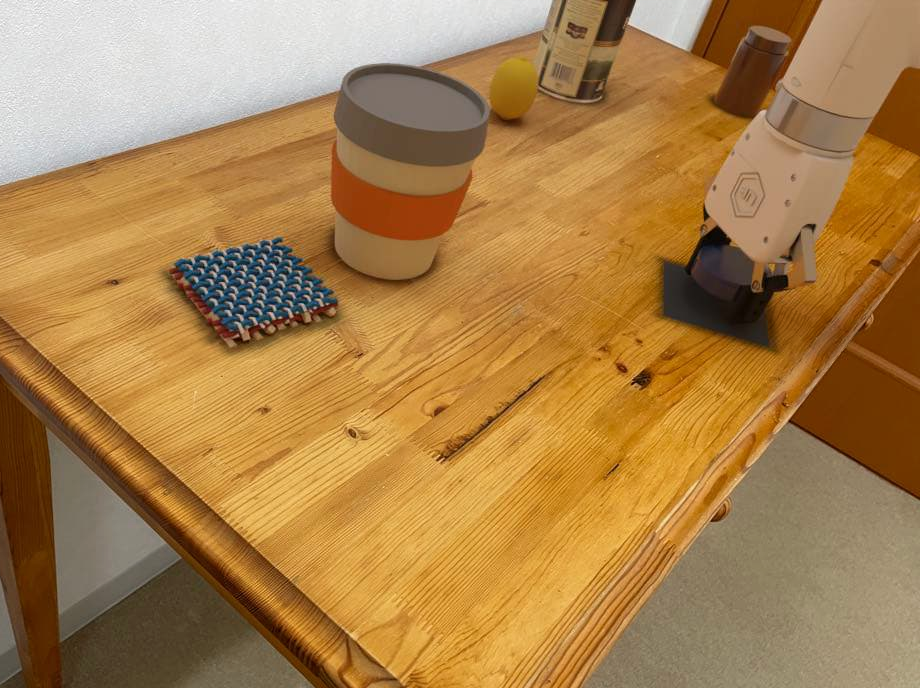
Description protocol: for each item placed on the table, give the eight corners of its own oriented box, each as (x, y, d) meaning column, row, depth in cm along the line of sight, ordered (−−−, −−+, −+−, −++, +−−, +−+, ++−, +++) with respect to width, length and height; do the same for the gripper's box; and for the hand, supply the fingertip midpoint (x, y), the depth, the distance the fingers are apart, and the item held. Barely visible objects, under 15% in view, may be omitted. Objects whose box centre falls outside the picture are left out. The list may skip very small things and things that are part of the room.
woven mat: (163, 277, 69) (163, 256, 68) (276, 251, 75) (278, 231, 73) (225, 354, 64) (226, 333, 62) (341, 319, 69) (345, 300, 68)
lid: (690, 290, 77) (698, 273, 76) (689, 252, 82) (697, 235, 81) (766, 311, 76) (776, 294, 75) (760, 272, 81) (769, 255, 80)
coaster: (760, 293, 84) (762, 289, 84) (768, 351, 77) (770, 348, 77) (662, 264, 85) (663, 260, 85) (661, 319, 78) (662, 315, 78)
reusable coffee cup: (388, 313, 71) (425, 147, 61) (285, 241, 76) (305, 77, 66) (477, 265, 79) (523, 112, 69) (378, 203, 84) (409, 52, 74)
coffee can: (594, 79, 119) (632, -27, 110) (607, 111, 112) (649, -1, 102) (523, 66, 118) (555, -43, 108) (532, 97, 110) (567, -17, 101)
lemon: (501, 107, 106) (519, 43, 101) (535, 126, 104) (555, 62, 99) (473, 115, 103) (490, 49, 98) (507, 135, 101) (527, 69, 95)
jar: (755, 107, 123) (792, 33, 115) (758, 124, 118) (797, 48, 111) (711, 95, 123) (745, 20, 116) (713, 111, 118) (748, 34, 111)
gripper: (720, 70, 73) (642, 244, 85) (846, 173, 61) (735, 358, 73) (791, 75, 75) (704, 244, 87) (925, 175, 64) (804, 355, 76)
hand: (719, 295), depth 80 cm, fingers closed on lid, 6 cm apart
